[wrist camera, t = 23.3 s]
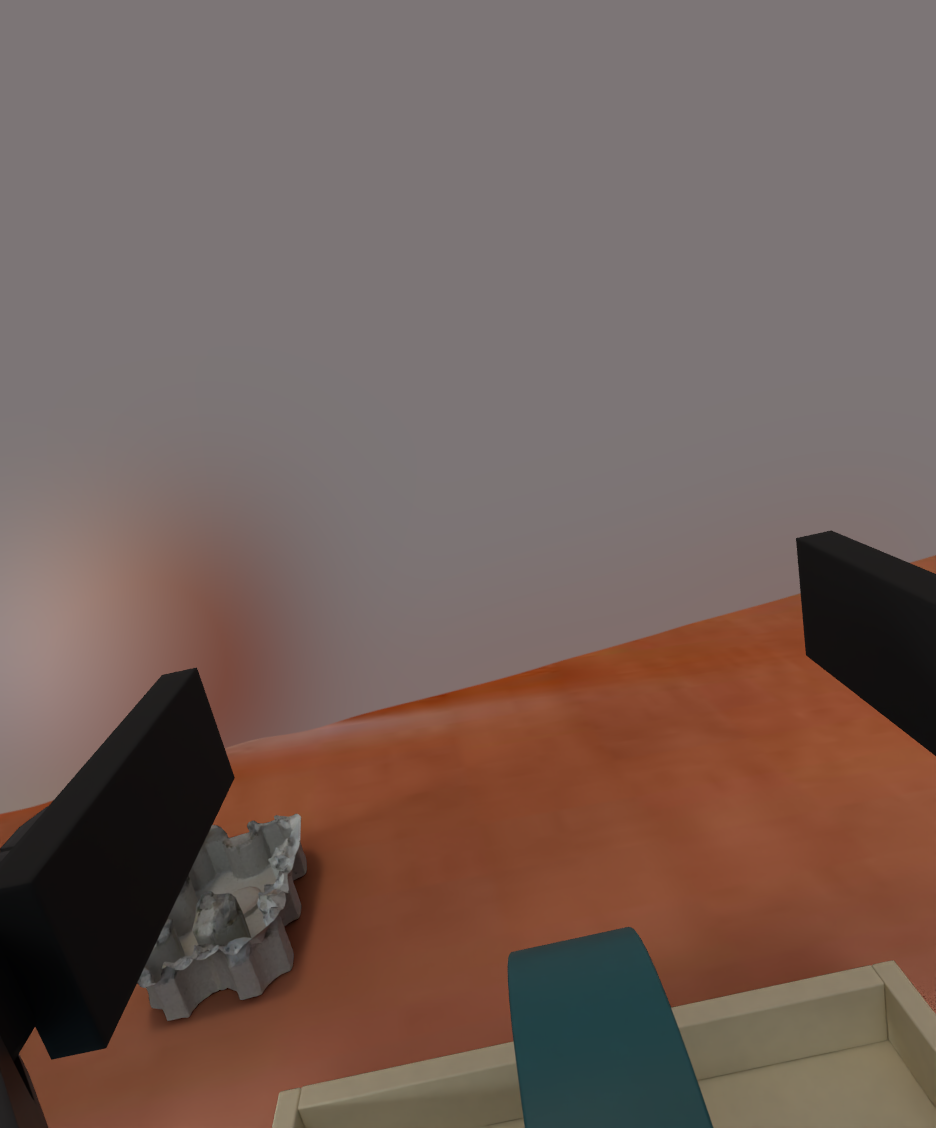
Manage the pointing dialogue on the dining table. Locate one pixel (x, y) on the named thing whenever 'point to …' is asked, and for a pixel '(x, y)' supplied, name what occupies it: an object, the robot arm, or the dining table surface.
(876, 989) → the tray
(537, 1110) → the disc
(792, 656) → the dining table surface
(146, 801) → the robot arm
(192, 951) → the egg carton
